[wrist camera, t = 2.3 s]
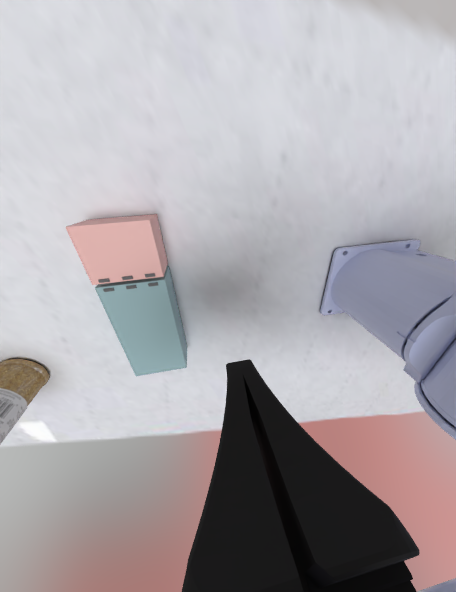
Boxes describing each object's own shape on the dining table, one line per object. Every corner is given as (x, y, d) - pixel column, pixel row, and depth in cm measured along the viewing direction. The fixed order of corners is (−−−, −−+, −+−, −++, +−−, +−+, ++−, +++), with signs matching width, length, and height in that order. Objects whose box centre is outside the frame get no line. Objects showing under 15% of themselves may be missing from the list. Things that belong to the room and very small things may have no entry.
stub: (156, 214, 15) (149, 220, 12) (167, 262, 17) (163, 277, 14) (88, 219, 14) (64, 227, 12) (108, 269, 16) (92, 285, 14)
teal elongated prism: (168, 265, 17) (164, 280, 14) (187, 346, 22) (186, 368, 19) (109, 272, 16) (94, 288, 14) (142, 353, 22) (135, 377, 19)
